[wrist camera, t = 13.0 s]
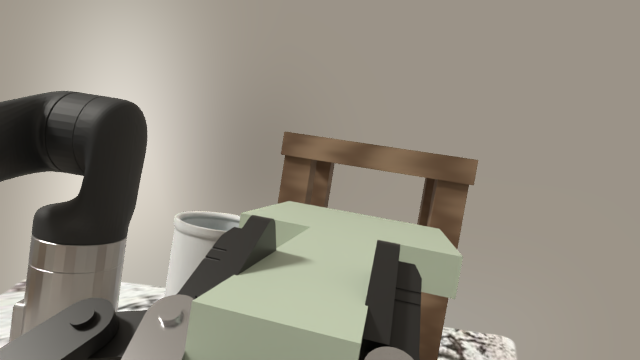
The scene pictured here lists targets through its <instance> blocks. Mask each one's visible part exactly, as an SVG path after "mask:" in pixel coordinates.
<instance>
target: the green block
mask: <svg viewBox="0 0 640 360" xmlns="http://www.w3.org/2000/svg"><path fill="white" fill-rule="evenodd" d="M251 215H256V216H261V217H267V218H272V219H274V220H275V224H276V251H275V252H273V253H272V254H270V255H268V256H267V257H265V258H264V259H262V260H261V261H259V262H257V263H256V264H254V265H253V266H251V267H250V268H248V269H247V270H245V271H243V272H242V273H240V274H239V275H233V276H231V277H230V278H228V279H227V280H225V281H223V282H222V283H220V284H219V285H217V286H215V287H214V288H212V289H211V290H209V291H207V292H206V293H204V294H203V295H201V296H199V297H198V298H196V299H195V300H193V301H192V305H191V312H190V319H189V325H188V332H187V339H186V346H185V360H359V356H360V350H361V344H362V338H363V332H364V327H365V321H366V316H367V310H368V306H366V305H365V301H366V296H367V291H368V286H369V281H370V276H371V270H372V265H373V260H374V255H375V250H376V244H377V240H382V241H387V242H392V243H397V244H400V254H399V261H401V262H406V263H411V264H415V265H416V267H417V269H418V271H419V273H420V276H421V278H422V288H421V292H425V293H429V294H434V295H438V296H443V297H447V298H452V299H455V298H456V292H457V287H458V281H459V276H460V270H461V265H462V259H463V256H462V255H461V254H460V253H459V252H458V250H457V249H456V248H455V247H454V246H453V244H452V243H451V242H450V241H449V240H448V238H447V237H446V236H445V235H444V234H443V232H442V231H441V230H440V229H438V228H433V227H427V226H422V225H416V224H411V223H406V222H400V221H395V220H389V219H384V218H378V217H373V216H367V215H362V214H357V213H352V212H346V211H341V210H335V209H330V208H325V207H319V206H314V205H308V204H303V203H298V202H292V201H287V202H283V203H279V204H275V205H272V206H267V207H263V208H259V209H256V210H251V211H247V212H244V213H241V216H240V222H239V228H242V227H243V226H244V225H245V223H246V222H247V220H248V219H249V217H250V216H251Z"/></svg>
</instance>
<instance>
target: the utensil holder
mask: <svg viewBox="0 0 640 360" xmlns="http://www.w3.org/2000/svg"><path fill="white" fill-rule="evenodd" d="M239 222H240V216H237V215H232V214H226V213H218V212H206V211H189V212H182V213H179V214H177V215H176V216H175V218H174V226H175V230H174V236H173V242H172V249H171V256H170V264H169V270H168V276H167V283H166V291H165V297H167V296H171V295H176V294H177V293H178V292H179V291H180V289H181V288H182V287H183V285H184V284H185V283H186V281H187V280H188V279H189V277H190V276H191V275H192V273H193V272H194V271H195V269H196V268H197V267H198V265H199V264H200V263H201V261H202V260H203V259H204V258H205V257H206V255H207V253H208V252H209V251H210V249H212V247H213V245H214V244H215V243H216V241H217V240H218V239H219V237H220V236H221V235H222V234H224V233H225V232H227V231H228V230H230V229H231V228H233V227H237V228H239Z"/></svg>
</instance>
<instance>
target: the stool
mask: <svg viewBox="0 0 640 360" xmlns="http://www.w3.org/2000/svg"><path fill="white" fill-rule="evenodd" d="M281 154H282V155H285V160H284V166H283V173H282V179H281V186H280V192H279V198H278V204H279V203H283V202H287V201H292V202H298V203H303V204H308V205H314V206H319V207H325V208H327V206H328V200H329V194H330V188H331V182H332V176H333V169H334V163H338V164H344V165H350V166H357V167H363V168H370V169H375V170H381V171H388V172H394V173H401V174H407V175H413V176H419V177H425V184H424V189H423V195H422V201H421V206H420V212H419V217H418V223H417V225H422V226H427V227H433V228H438V229H440V230H441V231H442V232H443V234H444V235H445V236H446V237H447V238H448V240H449V241H450V242H451V243H452V244H453V246H454V247H455V248H456V249H457V248H458V242H459V237H460V231H461V226H462V220H463V215H464V208H465V204H466V198H467V192H468V187H469V185H474V181H475V175H476V170H477V164H478V160H474V159H467V158H460V157H453V156H447V155H440V154H433V153H426V152H420V151H413V150H406V149H399V148H393V147H386V146H379V145H372V144H365V143H358V142H352V141H345V140H338V139H332V138H325V137H318V136H311V135H304V134H298V133H291V132H284V138H283V145H282V151H281ZM447 303H448V298H447V297H443V296H438V295H434V294H429V293H425V292H421V318H420V348H419V356H420V360H437V358H438V352H439V347H440V341H441V336H442V330H443V325H444V319H445V313H446V308H447Z"/></svg>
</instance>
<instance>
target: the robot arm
mask: <svg viewBox="0 0 640 360" xmlns="http://www.w3.org/2000/svg"><path fill="white" fill-rule="evenodd" d="M146 146H147V125H146V120H145V117H144V115H143V112H142V111H141V110H140V108H139V107H138V106H137V105H136V104H134V103H132V102H129V101H127V100H122V99H118V98H111V97H105V96H98V95H92V94H85V93H79V92H71V91H70V92H69V91H56V92H49V93H43V94H38V95H33V96H28V97H23V98H18V99H13V100H8V101H4V102H0V182H1V181H4V180H7V179H11V178H15V177H18V176H23V175H27V174H32V173H37V172H46V171H55V172H64V173H71V174H76V175H83V176H84V179H83V182H82V186H81V190H80V192H79V194H78V196H77V197H76V198H74V199H72V200H70V201H67V202H62V203H56V204H50V205H46V206H43V207H42V208H40V209H38V210H37V212H36V213H35V215H34V220H33V227H32V237H31V245H30V253H29V263H28V272H27V280H26V288H25V296H24V299H23V300H21V301H19V302H17V303H16V304H15V305H14V307H13V313H12V322H11V330H10V339H9V343H8V344H7V345H5V346H3V347H2V348H0V360H185V346H186V339H187V332H188V325H189V319H190V312H191V305H192V301H193V300H195V299H196V298H198V297H199V296H201V295H203V294H204V293H206V292H207V291H209V290H211V289H212V288H214V287H215V286H217V285H219V284H220V283H222V282H223V281H225V280H227V279H228V278H230V277H231V276H233V275H239V274H240V273H242V272H243V271H245V270H247V269H248V268H250V267H251V266H253V265H254V264H256V263H257V262H259V261H261V260H262V259H264V258H265V257H267V256H268V255H270V254H272V253H273V252H275V251H276V224H275V220H274V219H272V218H267V217H261V216H256V215H251V216H250V217H249V219H248V220H247V222H246V223H245V225H244V226H243V227H242V228H237V227H233V228H231V229H230V230H228V231H227V232H225V233H224V234H222V235H221V236H220V237H219V239H218V240H217V241H216V243H215V244H214V245H213V247H212V249H210V251H209V252H208V253H207V255H206V257H205V258H204V259H203V260H202V261H201V263H200V264H199V265H198V267H197V268H196V269H195V271H194V272H193V273H192V275H191V276H190V277H189V279H188V280H187V281H186V283H185V284H184V285H183V287H182V288H181V289H180V291H179V292H178V293H177V294H176V295H171V296H167V297H164V298H162V299H160V300H158V301H157V302H155V303H154V304H153V305H152V306H151V307H150V308H149V309H148V310H143V311H124V312H117V308H118V300H119V293H120V285H121V277H122V269H123V262H124V254H125V247H126V239H127V232H128V226H129V223H130V220H131V218H132V215H133V212H134V209H135V205H136V200H137V195H138V189H139V183H140V178H141V173H142V168H143V163H144V158H145V153H146ZM399 254H400V244H397V243H392V242H387V241H382V240H377V244H376V250H375V255H374V260H373V265H372V270H371V276H370V281H369V286H368V291H367V296H366V301H365V305H366V306H368V310H367V316H366V321H365V327H364V332H363V338H362V344H361V350H360V356H359V360H420V356H419V348H420V318H421V288H422V278H421V276H420V273H419V271H418V269H417V267H416V265H415V264H411V263H406V262H401V261H399Z"/></svg>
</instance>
